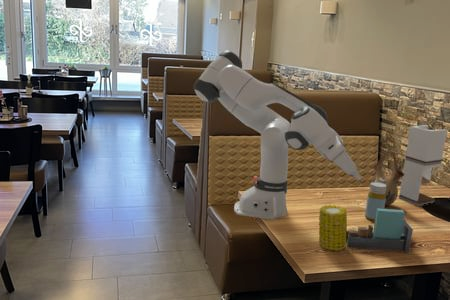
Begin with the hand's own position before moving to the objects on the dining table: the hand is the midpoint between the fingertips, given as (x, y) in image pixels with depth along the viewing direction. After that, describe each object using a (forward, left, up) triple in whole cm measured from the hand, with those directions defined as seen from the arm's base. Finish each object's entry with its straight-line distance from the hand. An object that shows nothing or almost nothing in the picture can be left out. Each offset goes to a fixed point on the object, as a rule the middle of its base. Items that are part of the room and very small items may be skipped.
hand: (356, 173), depth 150 cm
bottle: (+16, +25, -27) cm, 40 cm away
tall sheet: (+13, -1, -26) cm, 30 cm away
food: (-6, -3, -27) cm, 27 cm away
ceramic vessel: (+25, +43, -27) cm, 57 cm away
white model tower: (+43, +51, -27) cm, 72 cm away
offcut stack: (+4, -1, -26) cm, 27 cm away
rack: (+10, -1, -26) cm, 28 cm away
